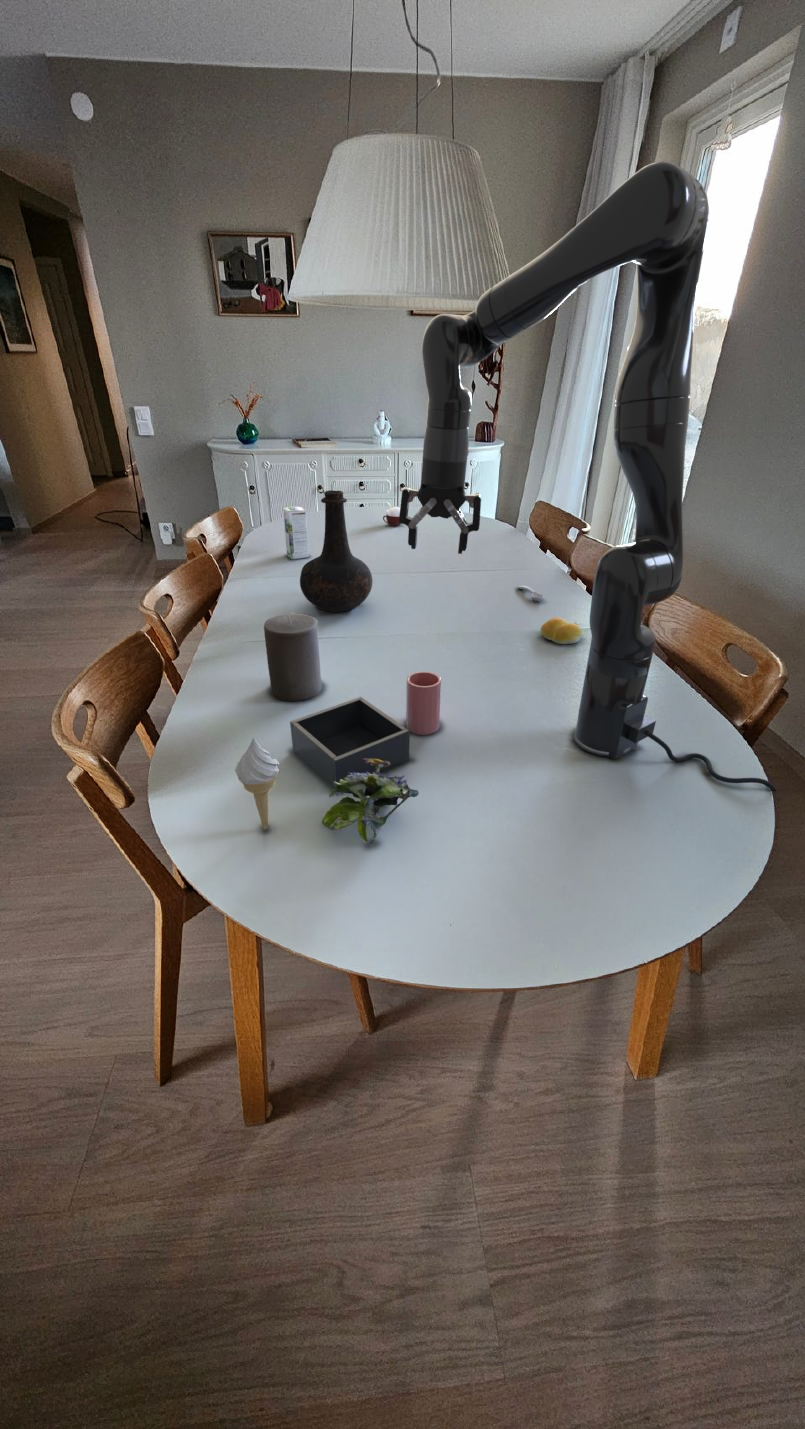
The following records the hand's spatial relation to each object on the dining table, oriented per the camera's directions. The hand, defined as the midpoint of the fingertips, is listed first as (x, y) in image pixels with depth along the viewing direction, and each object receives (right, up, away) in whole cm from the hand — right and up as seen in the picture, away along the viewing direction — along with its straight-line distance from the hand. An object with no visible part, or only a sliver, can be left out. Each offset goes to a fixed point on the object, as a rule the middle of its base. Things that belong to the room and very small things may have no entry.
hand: (437, 550), depth 113 cm
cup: (-3, -32, -5) cm, 33 cm away
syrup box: (-39, +20, +81) cm, 92 cm away
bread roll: (+30, -13, +28) cm, 43 cm away
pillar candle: (-27, -25, +6) cm, 37 cm away
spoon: (+28, +2, +52) cm, 59 cm away
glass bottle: (-23, -2, +45) cm, 50 cm away
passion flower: (-11, -45, -27) cm, 54 cm away
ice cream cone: (-25, -46, -28) cm, 59 cm away
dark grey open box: (-15, -37, -13) cm, 41 cm away
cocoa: (-9, +40, +115) cm, 122 cm away
